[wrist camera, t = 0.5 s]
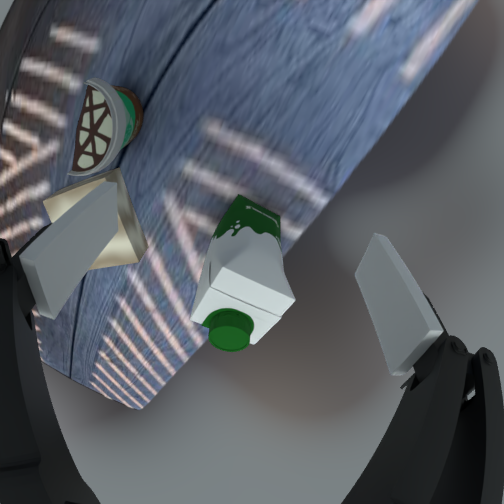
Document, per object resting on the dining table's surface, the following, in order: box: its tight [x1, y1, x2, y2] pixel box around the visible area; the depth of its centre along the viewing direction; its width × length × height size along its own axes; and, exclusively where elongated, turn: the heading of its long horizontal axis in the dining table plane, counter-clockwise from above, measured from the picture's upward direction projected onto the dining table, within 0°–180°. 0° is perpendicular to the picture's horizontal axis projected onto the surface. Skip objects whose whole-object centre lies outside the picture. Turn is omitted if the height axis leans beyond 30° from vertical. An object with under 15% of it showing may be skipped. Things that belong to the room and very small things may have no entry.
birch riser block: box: [43, 167, 148, 270], centre depth 39 cm, size 14×14×5 cm
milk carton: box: [190, 194, 295, 352], centre depth 33 cm, size 9×9×20 cm
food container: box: [68, 77, 143, 176], centre depth 28 cm, size 12×6×10 cm, turn 158°
